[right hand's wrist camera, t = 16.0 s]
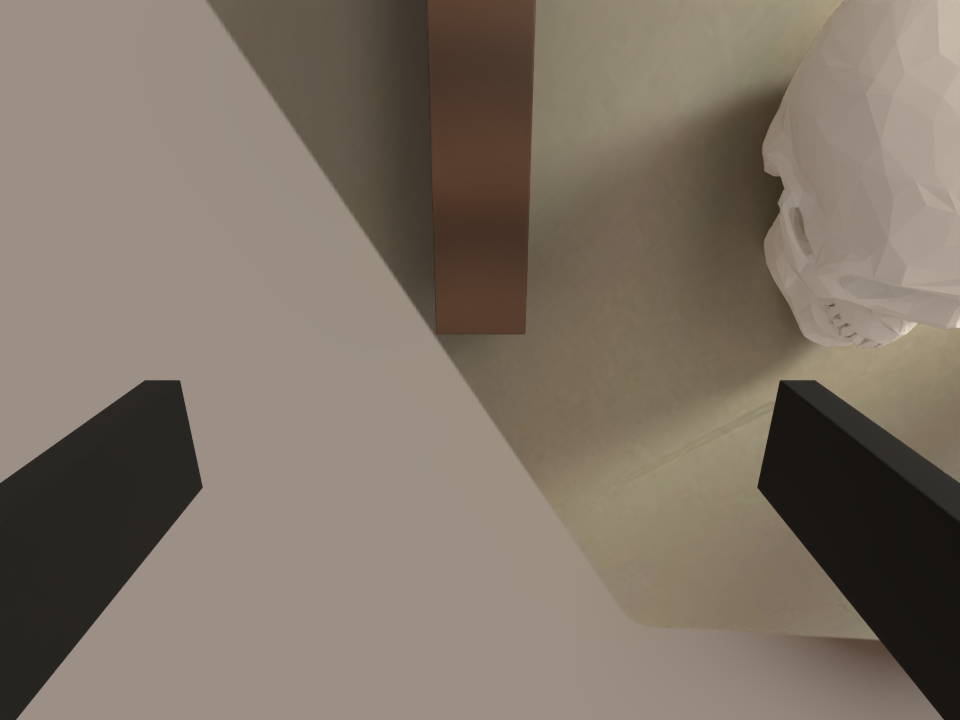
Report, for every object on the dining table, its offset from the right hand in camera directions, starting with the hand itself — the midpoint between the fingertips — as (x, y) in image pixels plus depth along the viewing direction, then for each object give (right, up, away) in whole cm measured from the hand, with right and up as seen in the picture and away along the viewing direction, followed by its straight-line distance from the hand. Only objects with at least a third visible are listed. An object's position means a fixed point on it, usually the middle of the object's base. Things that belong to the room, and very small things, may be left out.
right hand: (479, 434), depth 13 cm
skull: (+23, +14, +23) cm, 35 cm away
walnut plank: (0, +18, +22) cm, 28 cm away
